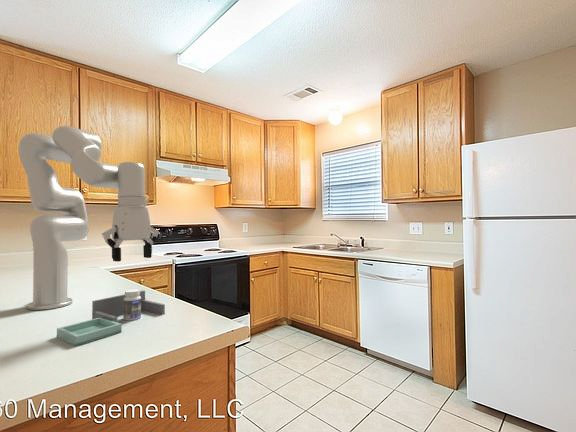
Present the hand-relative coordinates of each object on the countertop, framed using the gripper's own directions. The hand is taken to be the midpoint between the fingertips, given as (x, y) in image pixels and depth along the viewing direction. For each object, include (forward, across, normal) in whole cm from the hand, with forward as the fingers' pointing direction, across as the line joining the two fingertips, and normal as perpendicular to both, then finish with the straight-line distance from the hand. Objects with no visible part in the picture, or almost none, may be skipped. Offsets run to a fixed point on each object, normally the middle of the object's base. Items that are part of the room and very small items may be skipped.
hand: (132, 259), depth 93 cm
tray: (+18, +14, +3) cm, 23 cm away
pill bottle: (+18, 0, 0) cm, 18 cm away
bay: (+18, 0, -1) cm, 18 cm away
